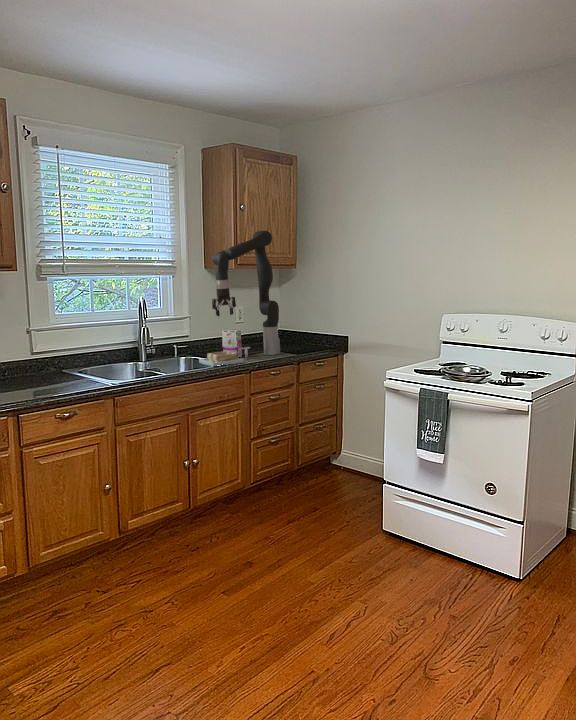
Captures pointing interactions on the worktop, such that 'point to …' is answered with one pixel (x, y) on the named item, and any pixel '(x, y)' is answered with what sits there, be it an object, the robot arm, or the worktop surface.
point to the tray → (208, 363)
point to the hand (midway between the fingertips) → (224, 315)
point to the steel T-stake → (246, 352)
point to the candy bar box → (232, 341)
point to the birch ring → (222, 356)
